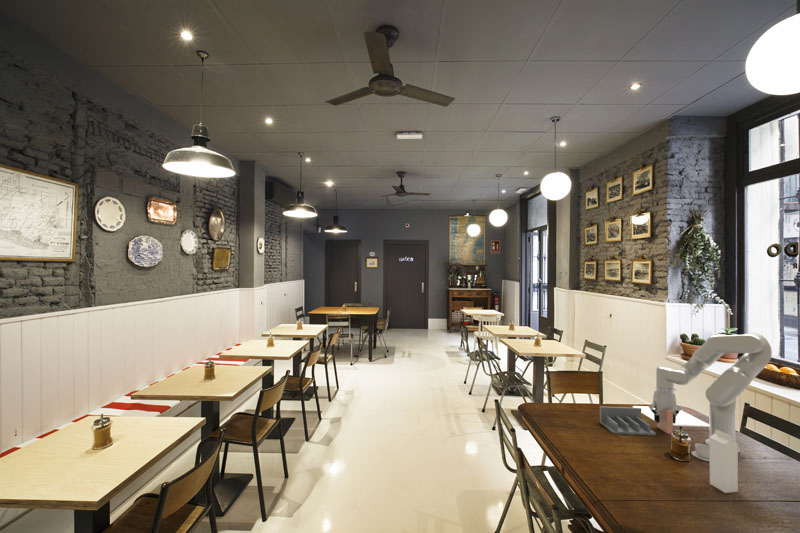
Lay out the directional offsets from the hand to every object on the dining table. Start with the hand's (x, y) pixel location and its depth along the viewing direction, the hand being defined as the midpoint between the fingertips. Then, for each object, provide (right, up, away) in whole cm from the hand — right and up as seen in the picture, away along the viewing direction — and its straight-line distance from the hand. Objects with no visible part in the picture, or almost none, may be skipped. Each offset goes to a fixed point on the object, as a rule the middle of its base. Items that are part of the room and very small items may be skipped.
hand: (664, 421), depth 192 cm
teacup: (-2, -4, -28) cm, 28 cm away
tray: (+17, -6, +20) cm, 27 cm away
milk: (-16, -3, -52) cm, 55 cm away
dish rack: (-20, -4, +1) cm, 21 cm away
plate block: (0, -5, 0) cm, 5 cm away
